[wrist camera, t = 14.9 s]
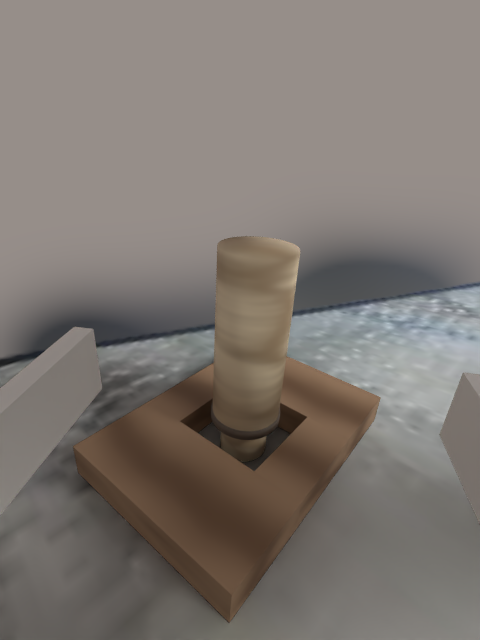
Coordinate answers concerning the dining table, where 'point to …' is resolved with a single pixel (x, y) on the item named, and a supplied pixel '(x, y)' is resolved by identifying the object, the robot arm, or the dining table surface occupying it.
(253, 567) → the walnut board
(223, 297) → the birch peg
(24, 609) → the dining table surface
